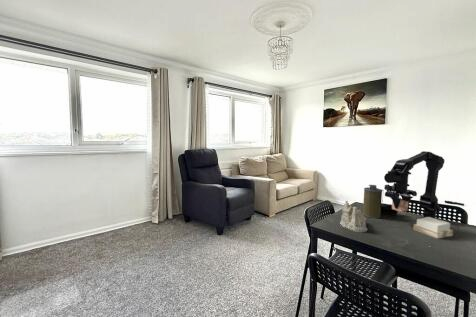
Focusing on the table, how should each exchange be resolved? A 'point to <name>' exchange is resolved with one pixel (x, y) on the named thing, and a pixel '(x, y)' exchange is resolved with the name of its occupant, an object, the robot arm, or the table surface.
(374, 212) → the canister
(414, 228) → the birch base slab
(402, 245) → the table surface
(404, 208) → the terracotta cube
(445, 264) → the table surface
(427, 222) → the cream top slab
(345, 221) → the ceramic cottage
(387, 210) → the end cap
